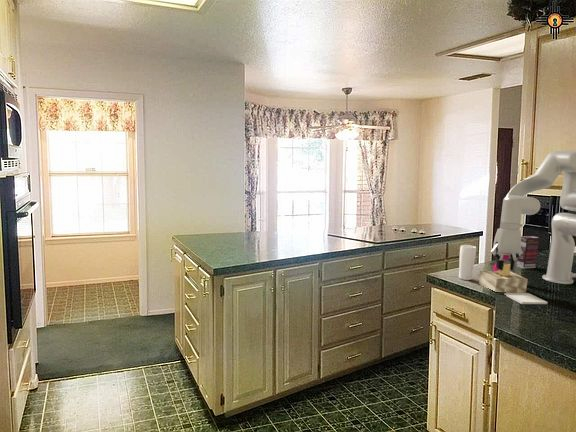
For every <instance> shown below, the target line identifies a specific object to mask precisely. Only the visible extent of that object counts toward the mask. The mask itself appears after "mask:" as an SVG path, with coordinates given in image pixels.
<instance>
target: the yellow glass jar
mask: <svg viewBox="0 0 576 432" xmlns="http://www.w3.org/2000/svg"><path fill="white" fill-rule="evenodd" d="M508 259H509V258H508ZM508 259H502V261H503V266H502V270H500V269H499V272H498V275H499V276H501V277H509V276H510V270H511V269H510V268H511V260H508Z"/></svg>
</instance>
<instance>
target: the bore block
mask: <svg viewBox="0 0 576 432" xmlns="http://www.w3.org/2000/svg"><path fill="white" fill-rule="evenodd" d="M498 272H499V271H493V270H479V277H478V279H479V280H478V285H479V284H480V285H479V286H481V285H482V286H481V287H483V286H484V287H483V288H485V287H486V288H485V289H487V288H489V289H491V290H493V291H495V292H506V293H527V286H528V280H529V279H528V278H526V277H523V276H522V275H519V274H518V273H514V272H513V271H511V272H510V276H509V277H501V276H499V275H498ZM489 289H488V290H489Z"/></svg>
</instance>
